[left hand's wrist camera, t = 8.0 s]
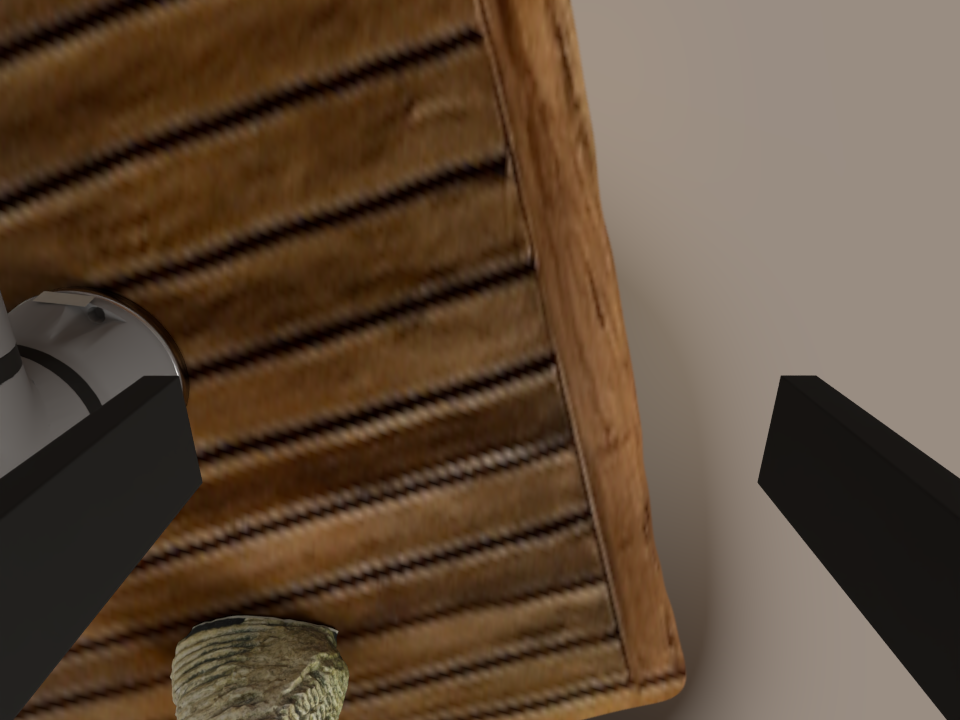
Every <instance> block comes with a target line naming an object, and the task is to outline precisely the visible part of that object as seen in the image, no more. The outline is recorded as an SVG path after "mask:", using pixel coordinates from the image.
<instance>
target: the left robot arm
mask: <svg viewBox="0 0 960 720" xmlns="http://www.w3.org/2000/svg"><path fill="white" fill-rule="evenodd" d="M188 397H189V378H188V372H187V368H186V364H185V361H184V359H183V356H182V354H181V352H180V350H179V348H178V346H177V344H176V343H175V341H174V340H173V338H172V337H171V336H170V334H169V333H168V332H167V331H166V329H165V328H164V327H163V326H162V325H161V324H160V323H159V322H158V321H157V320H156V319H155V318H154V317H153V316H152V315H150V314H149V313H148V312H146V311H145V310H144V309H142V308H141V307H139V306H138V305H136V304H135V303H133V302H131V301H129V300H127V299H125V298H123V297H121V296H119V295H116V294H113V293H110V292H107V291H104V290H100V289H94V288H88V287H66V288H60V289H55V290H52V291H49V292H48V291H43V292H42V293H41V294H40V295H38V296H35V297H32V298H30V299H28V300H26V301H24V302H23V303H21V304H20V305H18V306H17V307H16V308H14V309H13V310H12V311H10V312H9V313H8V314H7V311H6V307H5V304H4V301H3V298H2V295H1V292H0V720H13V719H14V718H15V717H16V716H17V714H18V713H19V712H20V711H21V709H22V708H23V707H24V706H25V704H26V703H27V702H28V701H29V699H30V698H31V697H32V696H33V694H34V693H35V692H36V691H37V689H38V688H39V687H40V685H41V684H42V683H43V682H44V680H45V679H46V678H47V677H48V675H49V674H50V673H51V672H52V670H53V669H54V668H55V667H56V665H57V664H58V663H59V662H60V660H61V659H62V658H63V657H64V655H65V654H66V653H67V652H68V650H69V649H70V648H71V647H72V645H73V644H74V643H75V642H76V640H77V639H78V638H79V637H80V635H81V634H82V633H83V632H84V630H85V629H86V628H87V627H88V625H89V624H90V623H91V622H92V620H93V619H94V618H95V617H96V615H97V614H98V613H99V612H100V610H101V609H102V608H103V607H104V605H105V604H106V603H107V602H108V600H109V599H110V598H111V597H112V595H113V594H114V593H115V592H116V590H117V589H118V588H119V587H120V585H121V584H122V583H123V581H124V580H125V579H126V578H127V576H128V575H129V574H130V573H131V571H132V570H133V569H134V568H135V566H136V565H137V564H138V563H139V561H140V560H141V559H142V558H143V556H144V555H145V554H146V553H147V551H148V550H149V549H150V548H151V546H152V545H153V544H154V543H155V541H156V540H157V539H158V538H159V536H160V535H161V534H162V533H163V531H164V530H165V529H166V528H167V526H168V525H169V524H170V523H171V521H172V520H173V519H174V518H175V516H176V515H177V514H178V513H179V511H180V510H181V509H182V508H183V506H184V505H185V504H186V503H187V501H188V500H189V499H190V498H191V496H192V495H193V494H194V493H195V491H196V490H197V489H198V488H199V486H200V485H201V484H202V478H201V473H200V469H199V464H198V460H197V455H196V451H195V446H194V441H193V437H192V432H191V428H190V423H189V419H188V414H187V410H186V406H187V402H188ZM758 484H759V485H760V486H761V488H762V489H763V490H764V491H765V493H766V494H767V495H768V496H769V498H770V499H771V500H772V501H773V503H774V504H775V505H776V506H777V508H778V509H779V510H780V511H781V513H782V514H783V515H784V516H785V518H786V519H787V520H788V521H789V523H790V524H791V525H792V526H793V528H794V529H795V530H796V531H797V533H798V534H799V535H800V536H801V538H802V539H803V540H804V541H805V543H806V544H807V545H808V546H809V548H810V549H811V550H812V551H813V553H814V554H815V555H816V556H817V558H818V559H819V560H820V561H821V563H822V564H823V565H824V566H825V568H826V569H827V570H828V571H829V573H830V574H831V575H832V576H833V578H834V579H835V580H836V581H837V583H838V584H839V585H840V586H841V588H842V589H843V590H844V592H845V593H846V594H847V595H848V597H849V598H850V599H851V600H852V602H853V603H854V604H855V605H856V607H857V608H858V609H859V610H860V611H861V613H862V614H863V615H864V617H865V618H866V619H867V620H868V621H869V623H870V624H871V625H872V627H873V628H874V629H875V630H876V631H877V633H878V634H879V635H880V637H881V638H882V639H883V640H884V642H885V643H886V644H887V645H888V647H889V648H890V649H891V650H892V652H893V653H894V654H895V655H896V657H897V658H898V659H899V660H900V662H901V663H902V664H903V665H904V667H905V668H906V669H907V670H908V672H909V673H910V674H911V675H912V677H913V678H914V679H915V680H916V682H917V683H918V684H919V685H920V687H921V688H922V689H923V691H924V692H925V693H926V694H927V695H928V697H929V698H930V699H931V700H932V702H933V703H934V704H935V706H936V707H937V708H938V709H939V710H940V712H941V713H942V714H943V716H944V717H945V718H946V719H947V720H960V478H958V477H957V476H955V475H954V474H953V473H951V472H950V471H949V470H947V469H946V468H944V467H943V466H942V465H940V464H939V463H937V462H936V461H935V460H933V459H932V458H930V457H929V456H928V455H926V454H925V453H923V452H922V451H921V450H919V449H918V448H916V447H915V446H914V445H912V444H911V443H909V442H908V441H907V440H905V439H904V438H902V437H901V436H900V435H898V434H897V433H895V432H894V431H893V430H891V429H890V428H889V427H887V426H886V425H884V424H883V423H882V422H880V421H879V420H877V419H876V418H875V417H873V416H872V415H870V414H869V413H868V412H866V411H865V410H863V409H862V408H861V407H859V406H858V405H856V404H855V403H854V402H852V401H851V400H849V399H848V398H847V397H845V396H844V395H842V394H841V393H840V392H838V391H837V390H835V389H834V388H833V387H831V386H830V385H828V384H827V383H826V382H824V381H823V380H822V379H820V378H819V377H817V376H781V378H780V382H779V387H778V391H777V396H776V400H775V405H774V410H773V414H772V419H771V423H770V428H769V432H768V437H767V442H766V446H765V451H764V455H763V460H762V464H761V469H760V473H759V478H758Z"/></svg>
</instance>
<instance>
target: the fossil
mask: <svg viewBox="0 0 960 720" xmlns="http://www.w3.org/2000/svg"><path fill="white" fill-rule="evenodd" d="M337 633H338V631H337V630H334V629H332V628H329V627H327V626H323V625H316V624H312V623H307V622H301V621H295V620H291V619H287V620H283V619H278V618H274V617H262V616H230V617H226V618H221V619H216V620H214V621H211V622H204V623H202V624H199V625H197V626H195V627H193V628H192V631H191V632H190V633H189V634H188V635H187V636H186V637H185V638H184V639H182V640H181V641H180V642H178V644H177V647H176V651H175V658H174V659H173V663H172V673H171V676H170V677H171V679H172V696H173V700H172V701H173V702H174V704H175V705H176V706H177V707H176V713H175V715H176V716H177V720H338V718H339V714H340V712H341V709H342V706H343V701H344V697H345V694H346V690H347V686H348V678H349V671H348V668H347V665H346V664H345V662H344V661H343V659H342V657H341V656H340V653H339V651H338V650H337V649H336V646H337V641H336V637H337Z"/></svg>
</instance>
